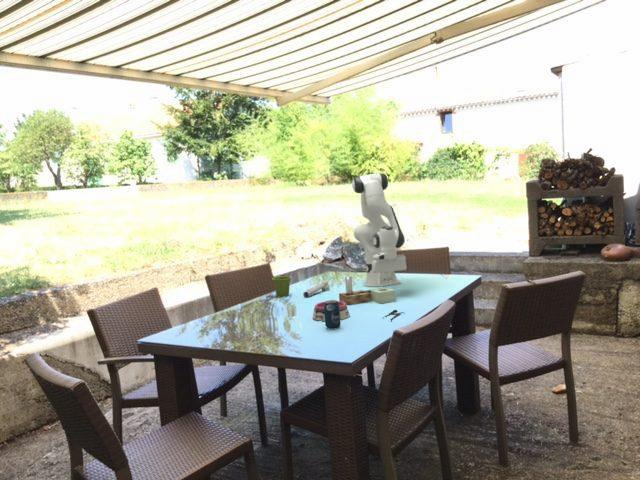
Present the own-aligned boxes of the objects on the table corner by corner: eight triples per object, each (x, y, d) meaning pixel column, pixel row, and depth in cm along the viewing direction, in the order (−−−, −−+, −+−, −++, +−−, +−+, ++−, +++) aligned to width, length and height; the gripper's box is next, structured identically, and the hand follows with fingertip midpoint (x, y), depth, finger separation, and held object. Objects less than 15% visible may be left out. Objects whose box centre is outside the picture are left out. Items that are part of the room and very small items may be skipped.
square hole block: (387, 298, 295) (386, 287, 294) (395, 301, 285) (395, 290, 285) (371, 300, 292) (370, 289, 291) (379, 303, 282) (378, 292, 282)
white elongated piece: (301, 291, 316) (323, 278, 336) (303, 301, 317) (324, 288, 338) (309, 291, 313) (330, 278, 333) (310, 302, 314) (331, 288, 335)
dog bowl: (357, 315, 261) (356, 301, 260) (332, 324, 248) (331, 309, 247) (330, 311, 274) (329, 298, 273) (305, 319, 260) (303, 306, 260)
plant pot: (270, 297, 324) (268, 279, 323) (278, 293, 335) (277, 276, 334) (287, 297, 319) (285, 279, 318) (295, 293, 330) (294, 276, 329)
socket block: (362, 297, 301) (361, 290, 300) (371, 301, 289) (370, 293, 289) (339, 301, 296) (338, 293, 296) (347, 305, 285) (346, 297, 284)
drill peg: (351, 301, 294) (350, 276, 293) (354, 302, 291) (352, 277, 289) (345, 302, 293) (344, 277, 292) (348, 303, 289) (346, 278, 288)
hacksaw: (394, 312, 263) (394, 309, 262) (413, 313, 257) (413, 310, 257) (372, 324, 242) (372, 321, 242) (392, 325, 237) (392, 322, 237)
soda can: (335, 329, 236) (333, 303, 235) (322, 328, 240) (320, 302, 239) (343, 326, 242) (341, 300, 241) (330, 325, 245) (328, 299, 244)
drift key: (382, 296, 300) (382, 288, 299) (384, 297, 297) (384, 288, 297) (363, 299, 296) (362, 290, 295) (365, 300, 293) (364, 291, 293)
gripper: (402, 253, 304) (403, 277, 305) (370, 256, 297) (371, 280, 298) (407, 254, 298) (409, 278, 299) (374, 257, 291) (376, 282, 292)
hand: (390, 279), depth 298 cm, fingers closed
